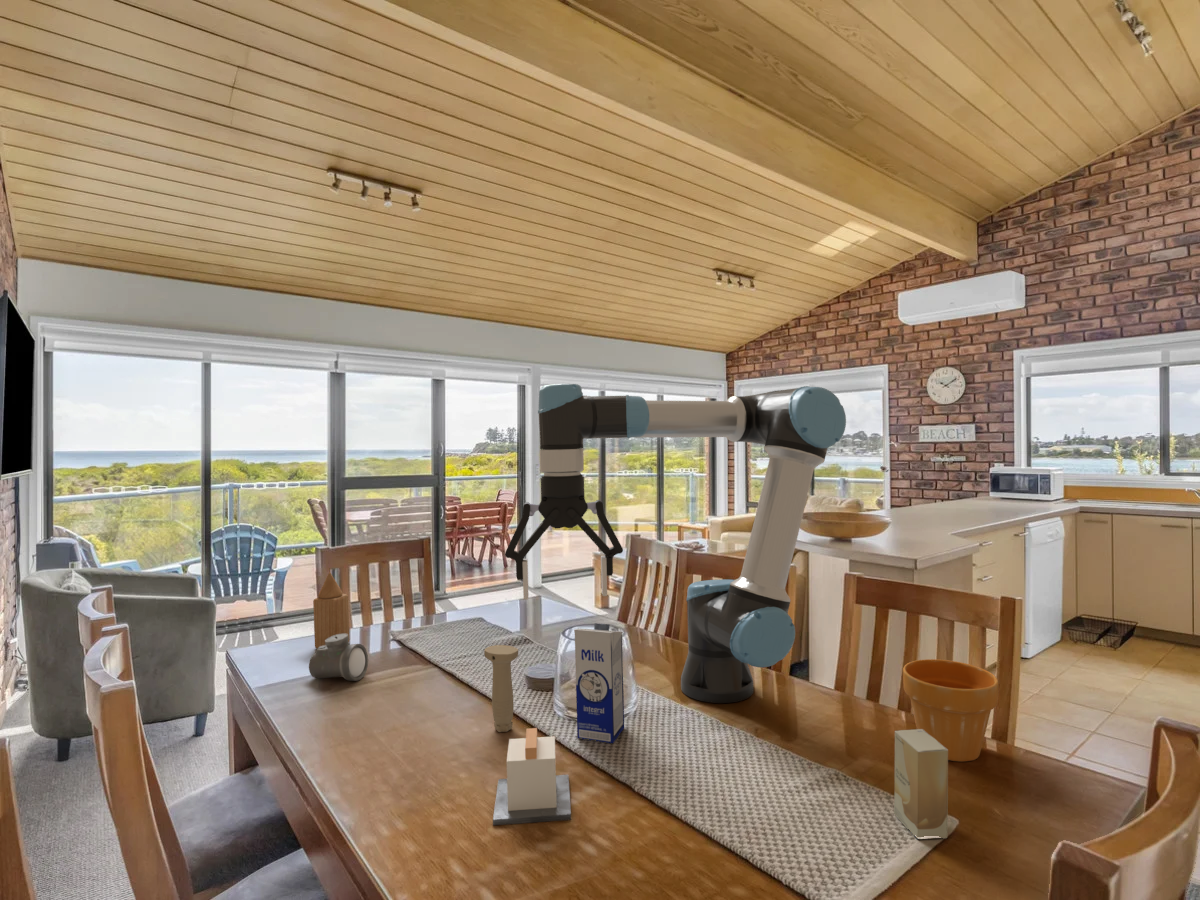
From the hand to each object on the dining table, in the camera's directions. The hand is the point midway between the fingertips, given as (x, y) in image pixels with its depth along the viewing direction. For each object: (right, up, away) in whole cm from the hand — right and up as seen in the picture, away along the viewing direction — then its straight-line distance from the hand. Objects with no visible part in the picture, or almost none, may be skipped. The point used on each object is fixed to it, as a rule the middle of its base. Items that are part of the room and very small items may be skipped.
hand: (565, 596), depth 115 cm
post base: (-4, -27, -16) cm, 32 cm away
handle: (-12, -27, +9) cm, 31 cm away
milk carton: (+6, -27, +6) cm, 28 cm away
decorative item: (-65, -27, +62) cm, 94 cm away
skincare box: (+50, -26, -24) cm, 61 cm away
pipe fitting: (-54, -28, +37) cm, 72 cm away
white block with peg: (-4, -26, -16) cm, 31 cm away
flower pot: (+65, -25, -3) cm, 70 cm away
